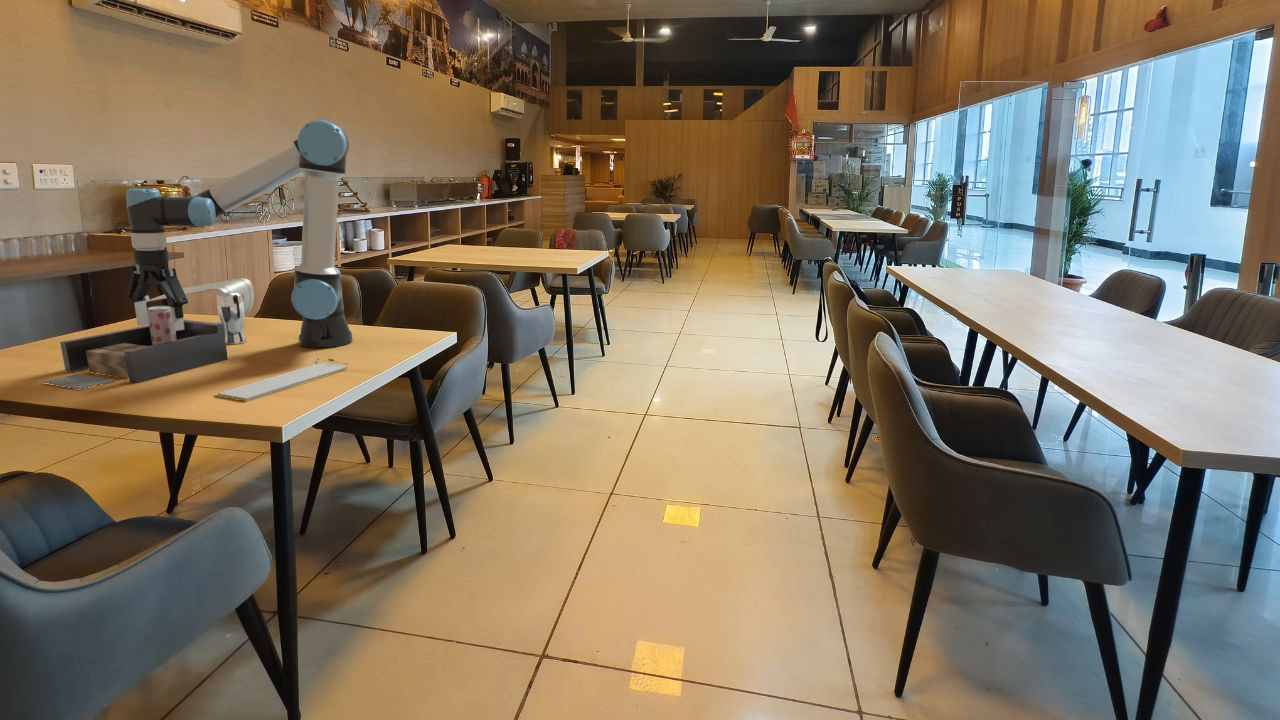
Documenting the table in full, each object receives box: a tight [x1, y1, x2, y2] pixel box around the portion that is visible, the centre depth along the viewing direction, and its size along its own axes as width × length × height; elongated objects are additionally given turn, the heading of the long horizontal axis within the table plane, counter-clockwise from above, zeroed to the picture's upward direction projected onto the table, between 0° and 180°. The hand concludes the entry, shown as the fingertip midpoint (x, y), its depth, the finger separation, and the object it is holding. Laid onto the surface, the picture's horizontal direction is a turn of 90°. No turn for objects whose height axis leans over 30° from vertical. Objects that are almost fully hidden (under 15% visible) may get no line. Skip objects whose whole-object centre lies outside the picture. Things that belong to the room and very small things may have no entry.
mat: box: [41, 373, 115, 389], centre depth 178 cm, size 14×8×1 cm, turn 69°
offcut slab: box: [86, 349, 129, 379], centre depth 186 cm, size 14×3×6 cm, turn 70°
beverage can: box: [147, 305, 177, 345], centre depth 197 cm, size 6×6×15 cm
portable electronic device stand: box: [144, 277, 255, 324], centre depth 236 cm, size 26×24×16 cm
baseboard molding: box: [213, 358, 348, 402], centre depth 182 cm, size 31×3×12 cm
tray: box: [60, 319, 229, 385], centre depth 193 cm, size 26×26×10 cm
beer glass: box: [216, 292, 247, 345], centre depth 220 cm, size 7×7×15 cm
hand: (160, 327), depth 197 cm, fingers open, 13 cm apart
